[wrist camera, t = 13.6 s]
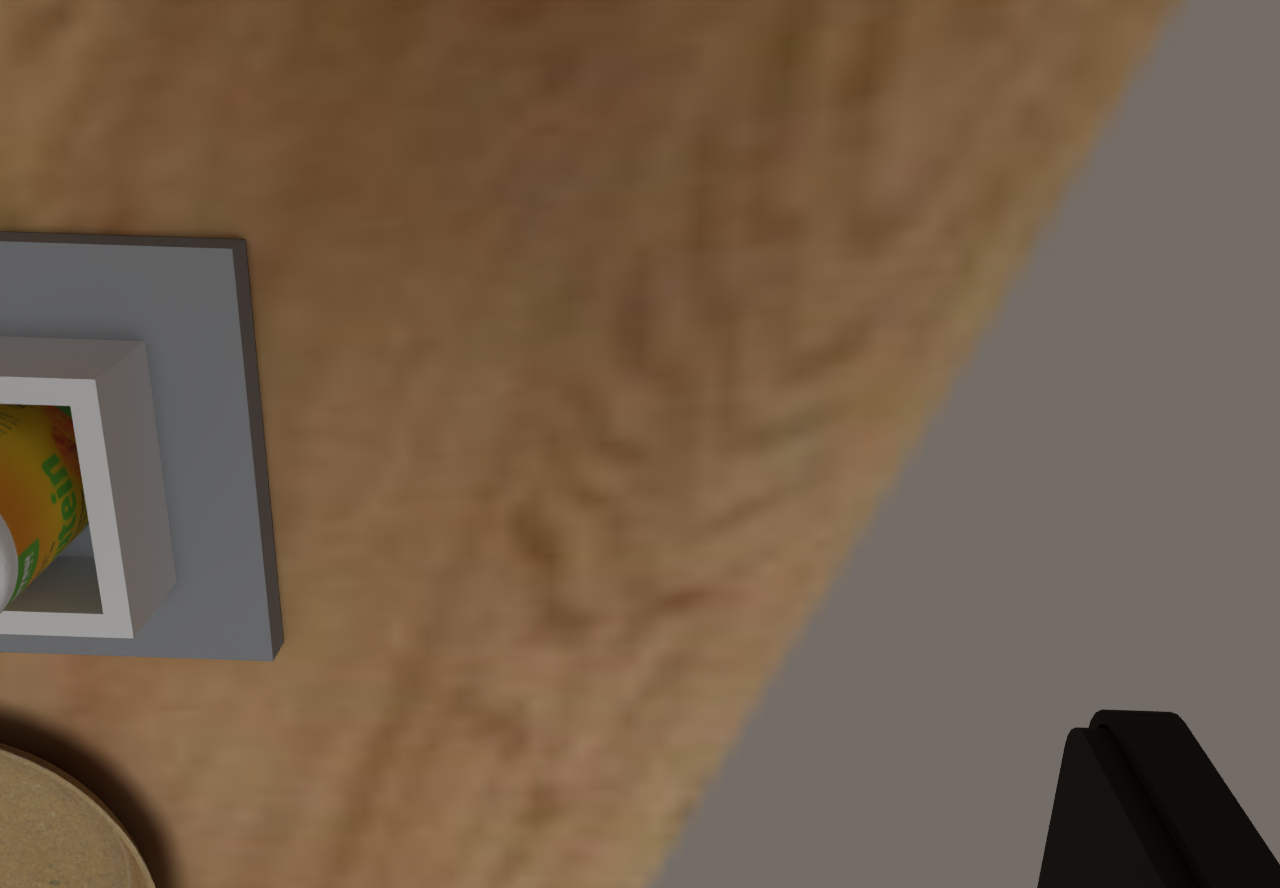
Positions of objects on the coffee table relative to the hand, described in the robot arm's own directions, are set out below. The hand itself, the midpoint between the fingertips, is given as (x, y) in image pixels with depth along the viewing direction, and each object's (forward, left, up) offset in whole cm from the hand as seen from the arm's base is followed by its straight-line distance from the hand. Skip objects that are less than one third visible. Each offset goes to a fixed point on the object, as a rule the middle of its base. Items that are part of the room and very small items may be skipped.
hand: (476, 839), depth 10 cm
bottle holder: (+9, -18, -28) cm, 35 cm away
